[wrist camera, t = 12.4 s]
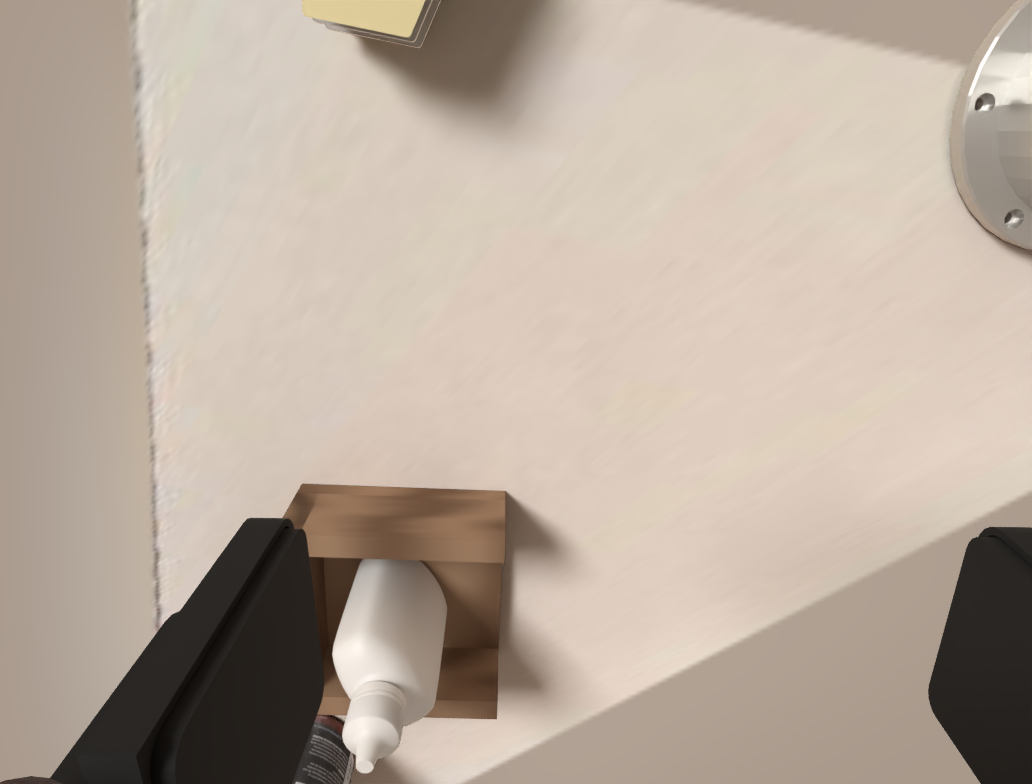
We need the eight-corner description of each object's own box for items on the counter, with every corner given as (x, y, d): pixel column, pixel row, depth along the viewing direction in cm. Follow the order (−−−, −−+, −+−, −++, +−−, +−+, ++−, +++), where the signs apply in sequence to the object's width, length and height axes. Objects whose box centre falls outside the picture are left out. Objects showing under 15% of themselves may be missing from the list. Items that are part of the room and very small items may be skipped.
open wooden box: (505, 491, 38) (505, 541, 33) (497, 653, 42) (496, 719, 37) (302, 483, 38) (273, 534, 33) (313, 648, 42) (288, 713, 37)
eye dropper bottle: (374, 627, 40) (323, 822, 29) (357, 543, 38) (295, 716, 27) (450, 620, 40) (429, 813, 29) (437, 536, 38) (409, 707, 27)
